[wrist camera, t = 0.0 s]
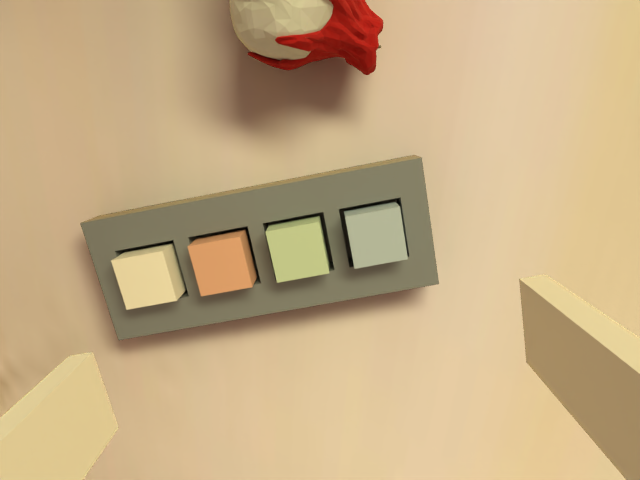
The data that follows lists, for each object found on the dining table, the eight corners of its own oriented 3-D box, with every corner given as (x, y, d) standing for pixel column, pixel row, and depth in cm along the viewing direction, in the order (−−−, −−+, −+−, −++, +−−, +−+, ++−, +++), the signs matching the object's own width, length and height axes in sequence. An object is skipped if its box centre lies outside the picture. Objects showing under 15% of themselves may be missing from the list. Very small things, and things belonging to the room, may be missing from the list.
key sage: (269, 225, 39) (265, 231, 36) (319, 215, 39) (319, 221, 36) (280, 272, 40) (277, 282, 38) (329, 264, 40) (329, 273, 37)
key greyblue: (343, 210, 39) (345, 217, 36) (395, 201, 38) (399, 206, 36) (352, 259, 40) (354, 268, 37) (402, 250, 39) (407, 259, 37)
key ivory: (124, 252, 40) (110, 260, 37) (172, 243, 39) (162, 251, 37) (138, 298, 41) (126, 309, 38) (186, 289, 41) (176, 300, 38)
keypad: (98, 215, 41) (80, 223, 38) (414, 155, 40) (421, 157, 37) (133, 325, 44) (118, 340, 41) (430, 272, 42) (438, 283, 39)
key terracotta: (196, 238, 39) (187, 246, 37) (245, 229, 39) (240, 236, 37) (208, 285, 40) (201, 296, 38) (256, 277, 40) (252, 287, 38)
